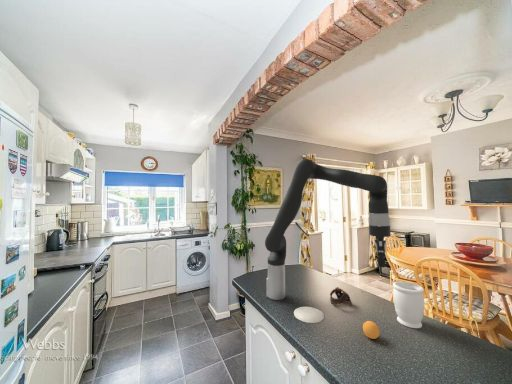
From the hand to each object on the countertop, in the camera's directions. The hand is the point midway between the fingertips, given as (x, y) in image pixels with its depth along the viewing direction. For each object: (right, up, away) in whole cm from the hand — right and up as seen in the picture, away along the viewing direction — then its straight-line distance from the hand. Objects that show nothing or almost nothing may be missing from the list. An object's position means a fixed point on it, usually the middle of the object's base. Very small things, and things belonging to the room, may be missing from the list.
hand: (381, 264), depth 84 cm
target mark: (-28, -25, +8) cm, 38 cm away
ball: (-9, -22, -8) cm, 25 cm away
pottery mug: (-9, -26, +18) cm, 33 cm away
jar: (+12, -25, +1) cm, 28 cm away
